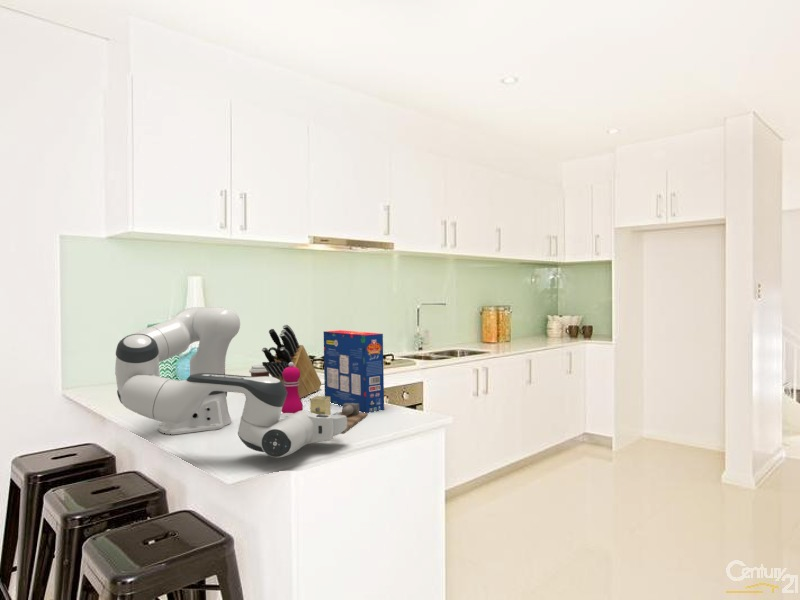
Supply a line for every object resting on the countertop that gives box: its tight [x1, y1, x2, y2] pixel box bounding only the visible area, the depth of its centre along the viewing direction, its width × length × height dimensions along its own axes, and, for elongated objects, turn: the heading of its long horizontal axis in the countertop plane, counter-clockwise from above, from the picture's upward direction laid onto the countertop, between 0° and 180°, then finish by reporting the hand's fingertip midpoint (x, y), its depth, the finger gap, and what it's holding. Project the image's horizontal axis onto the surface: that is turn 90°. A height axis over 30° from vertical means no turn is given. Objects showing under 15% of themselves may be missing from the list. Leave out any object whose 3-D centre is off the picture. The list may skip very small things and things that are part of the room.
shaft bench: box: [334, 403, 369, 434], centre depth 178 cm, size 24×10×4 cm, turn 166°
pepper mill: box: [281, 362, 304, 414], centre depth 183 cm, size 7×7×20 cm
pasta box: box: [323, 329, 385, 414], centre depth 206 cm, size 28×8×28 cm, turn 39°
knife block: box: [261, 324, 322, 399], centre depth 225 cm, size 11×35×31 cm, turn 166°
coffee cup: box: [248, 364, 270, 377], centre depth 235 cm, size 9×9×12 cm
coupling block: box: [309, 395, 332, 415], centre depth 161 cm, size 5×4×12 cm
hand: (321, 416), depth 161 cm, fingers open, 8 cm apart
